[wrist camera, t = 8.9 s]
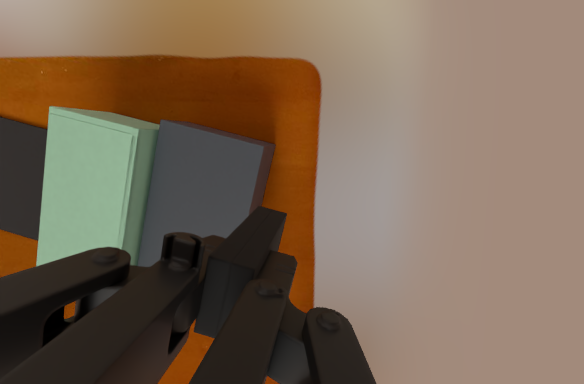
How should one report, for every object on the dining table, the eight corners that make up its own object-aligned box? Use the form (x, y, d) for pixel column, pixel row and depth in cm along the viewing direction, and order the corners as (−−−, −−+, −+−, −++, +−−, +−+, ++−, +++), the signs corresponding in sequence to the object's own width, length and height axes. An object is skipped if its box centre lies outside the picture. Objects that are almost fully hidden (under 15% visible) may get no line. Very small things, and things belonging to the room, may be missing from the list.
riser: (189, 122, 35) (160, 119, 29) (275, 144, 34) (264, 146, 29) (162, 268, 39) (132, 292, 33) (240, 291, 38) (224, 320, 32)
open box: (181, 130, 35) (110, 112, 36) (138, 128, 27) (49, 105, 28) (159, 261, 38) (94, 243, 39) (115, 294, 31) (35, 270, 31)
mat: (-78, 95, 39) (-81, 95, 38) (160, 160, 36) (159, 160, 36) (-79, 204, 41) (-82, 204, 41) (142, 270, 39) (141, 271, 39)
